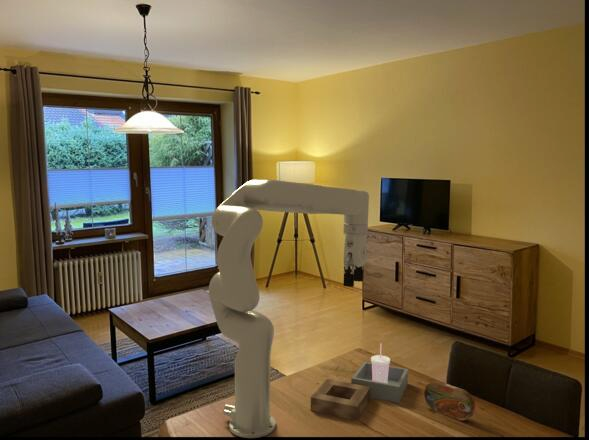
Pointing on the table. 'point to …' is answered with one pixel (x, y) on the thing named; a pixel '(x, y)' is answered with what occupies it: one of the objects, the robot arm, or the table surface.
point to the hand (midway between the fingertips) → (353, 283)
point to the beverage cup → (380, 367)
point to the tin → (449, 400)
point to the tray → (383, 390)
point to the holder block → (340, 399)
